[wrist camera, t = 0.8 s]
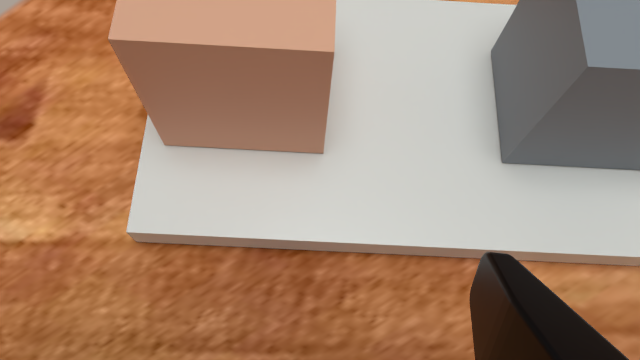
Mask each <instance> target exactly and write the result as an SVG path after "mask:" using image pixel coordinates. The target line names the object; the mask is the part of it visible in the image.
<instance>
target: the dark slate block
mask: <svg viewBox="0 0 640 360" xmlns="http://www.w3.org/2000/svg"><path fill="white" fill-rule="evenodd" d="M491 57H492V67H493V77H494V87H495V97H496V107H497V117H498V127H499V137H500V147H501V157H502V163H514V164H533V165H552V166H571V167H590V168H609V169H628V170H640V0H520V1H519V2H518V4H517V6H516V8H515V9H514V11H513V13H512V15H511V16H510V18H509V20H508V22H507V23H506V25H505V27H504V29H503V31H502V32H501V34H500V36H499V38H498V39H497V41H496V43H495V45H494V46H493V48H492V50H491Z"/></svg>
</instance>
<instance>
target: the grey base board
mask: <svg viewBox="0 0 640 360" xmlns="http://www.w3.org/2000/svg"><path fill="white" fill-rule="evenodd" d="M516 6H517V5H506V4H489V3H472V2H456V1H439V0H336V21H335V51H334V61H333V70H332V79H331V88H330V97H329V106H328V115H327V124H326V133H325V142H324V151H323V153H305V152H286V151H267V150H248V149H229V148H210V147H191V146H172V145H164V143H163V141H162V140H161V138H160V136H159V134H158V132H157V130H156V128H155V126H154V125H153V123H152V121H151V119H150V117H149V115H148V117H147V122H146V128H145V133H144V138H143V144H142V149H141V155H140V160H139V166H138V171H137V177H136V182H135V187H134V193H133V198H132V204H131V209H130V215H129V220H128V226H127V231H126V232H127V233H128V234H129V235H130V236H131V237H132V238H133V239H134V240H135V241H136V242H150V243H171V244H191V245H212V246H233V247H254V248H274V249H295V250H316V251H337V252H357V253H378V254H399V255H420V256H440V257H461V258H481V257H482V256H483V254H484V253H486V252H496V253H505V254H509V255H511V256H512V257H514V258H515V259H516V260H523V261H544V262H565V263H586V264H607V265H627V266H640V170H628V169H609V168H590V167H571V166H552V165H533V164H514V163H502V157H501V147H500V137H499V127H498V117H497V107H496V97H495V87H494V77H493V67H492V57H491V50H492V48H493V46H494V45H495V43H496V41H497V39H498V38H499V36H500V34H501V32H502V31H503V29H504V27H505V25H506V23H507V22H508V20H509V18H510V16H511V15H512V13H513V11H514V9H515V8H516Z"/></svg>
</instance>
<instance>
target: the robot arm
mask: <svg viewBox="0 0 640 360" xmlns="http://www.w3.org/2000/svg"><path fill="white" fill-rule="evenodd" d="M470 310H471V321H472V331H473V342H474V352H475V360H629V359H628V358H627V357H626V356H624V355H623V354H622V353H621V352H620V351H619V350H618V349H617V348H615V347H614V346H613V345H612V344H611V343H610V342H609V341H608V340H606V339H605V338H604V337H603V336H602V335H601V334H600V333H598V332H597V331H596V330H595V329H594V328H593V327H592V326H591V325H589V324H588V323H587V322H586V321H585V320H584V319H583V318H582V317H580V316H579V315H578V314H577V313H576V312H575V311H574V310H573V309H571V308H570V307H569V306H568V305H567V304H566V303H565V302H563V301H562V300H561V299H560V298H559V297H558V296H557V295H556V294H554V293H553V292H552V291H551V290H550V289H549V288H548V287H547V286H545V285H544V284H543V283H542V282H541V281H540V280H539V279H537V278H536V277H535V276H534V275H533V274H532V273H531V272H530V271H528V270H527V269H526V268H525V267H524V266H523V265H522V264H521V263H519V262H518V261H517V260H516V259H515V258H514V257H512V256H511V255H509V254H505V253H496V252H486V253H484V254H483V256H482V257H481V260H480V263H479V266H478V269H477V272H476V275H475V278H474V281H473V284H472V287H471V291H470Z"/></svg>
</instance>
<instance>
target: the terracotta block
mask: <svg viewBox="0 0 640 360" xmlns="http://www.w3.org/2000/svg"><path fill="white" fill-rule="evenodd" d="M335 21H336V0H117V2H116V6H115V11H114V15H113V19H112V24H111V28H110V32H109V37H108V40H109V42H110V44H111V46H112V48H113V50H114V51H115V53H116V55H117V57H118V59H119V61H120V63H121V65H122V66H123V68H124V70H125V72H126V74H127V76H128V78H129V80H130V81H131V83H132V85H133V87H134V89H135V91H136V93H137V95H138V96H139V98H140V100H141V102H142V104H143V106H144V108H145V110H146V111H147V113H148V115H149V117H150V119H151V121H152V123H153V125H154V126H155V128H156V130H157V132H158V134H159V136H160V138H161V140H162V141H163V143H164V145H172V146H191V147H210V148H229V149H248V150H267V151H286V152H305V153H323V151H324V142H325V133H326V124H327V115H328V106H329V97H330V88H331V79H332V70H333V61H334V51H335Z"/></svg>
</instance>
